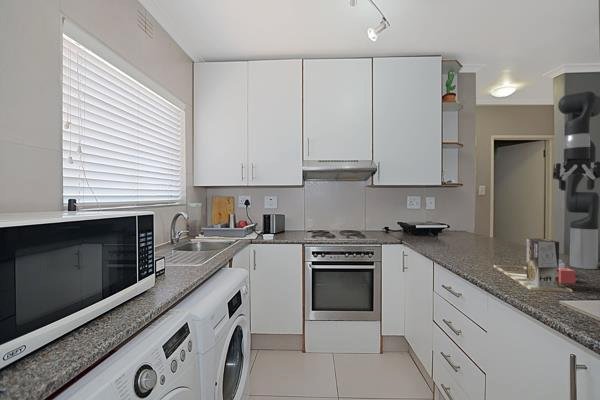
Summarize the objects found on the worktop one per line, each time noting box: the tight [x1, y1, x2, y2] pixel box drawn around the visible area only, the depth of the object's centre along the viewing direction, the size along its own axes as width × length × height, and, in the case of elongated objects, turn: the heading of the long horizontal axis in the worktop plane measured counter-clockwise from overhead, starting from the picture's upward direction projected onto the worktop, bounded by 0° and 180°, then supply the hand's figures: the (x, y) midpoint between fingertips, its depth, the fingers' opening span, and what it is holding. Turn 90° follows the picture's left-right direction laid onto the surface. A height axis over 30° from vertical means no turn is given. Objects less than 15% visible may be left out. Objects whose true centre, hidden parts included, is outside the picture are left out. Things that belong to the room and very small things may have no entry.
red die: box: [559, 267, 577, 284], centre depth 118 cm, size 4×4×5 cm
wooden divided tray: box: [493, 264, 573, 293], centre depth 124 cm, size 35×12×1 cm, turn 166°
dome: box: [559, 258, 566, 268], centre depth 129 cm, size 8×8×5 cm
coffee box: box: [526, 238, 560, 289], centre depth 113 cm, size 9×6×16 cm
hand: (576, 190), depth 121 cm, fingers open, 8 cm apart
